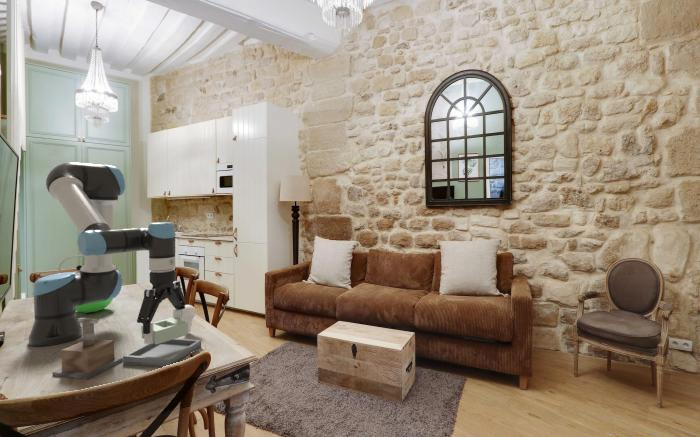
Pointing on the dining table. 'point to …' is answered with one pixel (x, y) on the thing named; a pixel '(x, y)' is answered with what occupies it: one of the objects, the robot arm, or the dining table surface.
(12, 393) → the dining table surface
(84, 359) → the stake block
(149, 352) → the tray
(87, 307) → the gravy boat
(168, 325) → the collar
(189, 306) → the lightbulb
